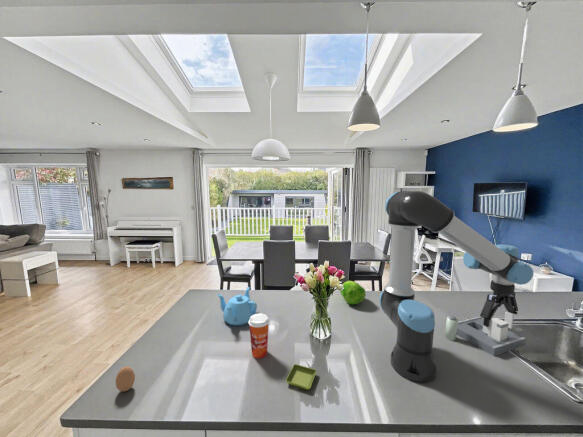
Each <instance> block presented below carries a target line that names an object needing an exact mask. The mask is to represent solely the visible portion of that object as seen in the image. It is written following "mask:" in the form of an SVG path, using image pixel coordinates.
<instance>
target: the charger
mask: <svg viewBox="0 0 583 437" xmlns="http://www.w3.org/2000/svg"><path fill="white" fill-rule="evenodd" d="M491 319H492V329H491V335H488V336H489V337H491V338H493V339H495V340H497V341H499V342H502V341H505V340H507V331H508V330H509V328H508V325H509V324H508V323H507V322H505V321H504V320H503V319H501V318H498V317H492V318H491Z"/></svg>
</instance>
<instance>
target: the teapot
mask: <svg viewBox="0 0 583 437" xmlns="http://www.w3.org/2000/svg"><path fill="white" fill-rule="evenodd" d="M250 289H251V288H250V286H248V287H246V289H245V292H244V295H242V294H237V295H235V296H232V297H231V298H230V299H229V300H228V301H227V303H226V300H225V298H224V295H222V294H220V293H216V295H217V297H219V300H220V309H221V311H222V312H223V320H224V321H225V322H226V323H227V324H228V325H231V326H236V327H237V326H244V325H247V324H249V323H248V322H249V320H250V317H251V316H252V315H254V314H259V313H258V312H257V309H258V304H257V302H255V301H253V300H251V299H250V298H251V296H250Z"/></svg>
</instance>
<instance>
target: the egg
mask: <svg viewBox="0 0 583 437" xmlns="http://www.w3.org/2000/svg"><path fill="white" fill-rule="evenodd" d="M135 379H136V375H135V371H134V370H133V369H132V368H131V367H130V366H123V367H122V368H120V370H119V371H118V373H117V374H116V377H115V387H116V389H117V390H118V391H119V392H124V393H125V392H127V391H130V389H131V388H132V387H133V385H134V383H135Z"/></svg>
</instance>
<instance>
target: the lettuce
mask: <svg viewBox="0 0 583 437" xmlns="http://www.w3.org/2000/svg"><path fill="white" fill-rule="evenodd" d="M342 285H343V287H344V289H343V290H341V289H340V294H341V296H342V298H343V299H344V301H345V302H346V303H348V304H349V305H351V306H353V305H354V306H355V305H358V304H361V303H362V301H364V300H365V298H366V289H365V288H364V287H363V286H362V285H361V284H360V283H358V282H356V281H354V280H353V281H352V280H347V281H345V282H343V284H342Z"/></svg>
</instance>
